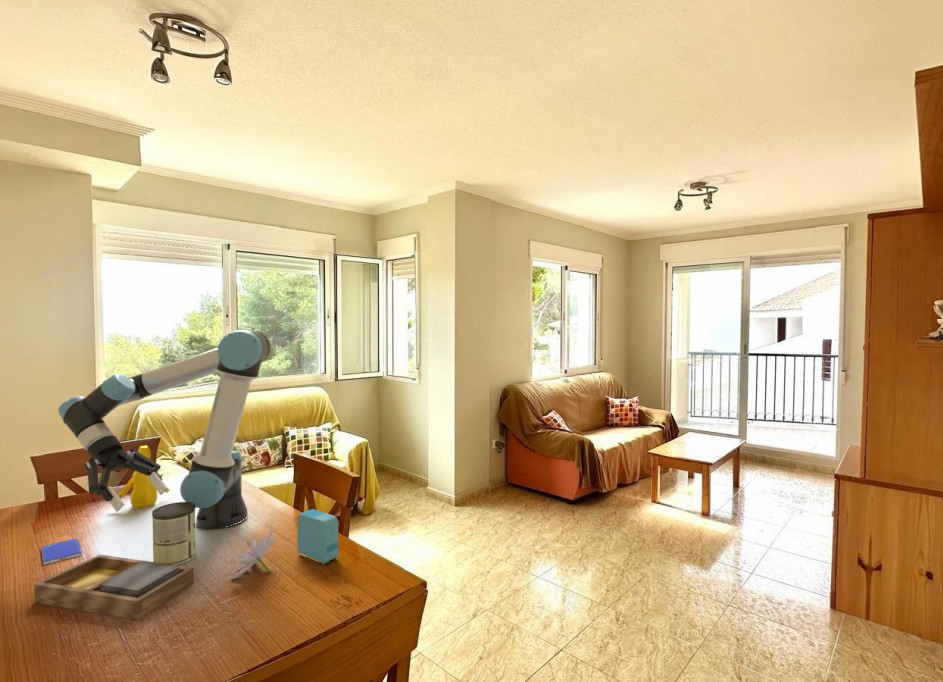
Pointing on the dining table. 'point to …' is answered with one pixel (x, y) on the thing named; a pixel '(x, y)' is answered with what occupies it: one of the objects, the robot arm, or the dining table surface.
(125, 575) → the wooden tray
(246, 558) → the water lily
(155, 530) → the coffee can
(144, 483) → the figure statuette
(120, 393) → the robot arm
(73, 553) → the hard drive
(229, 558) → the dining table surface
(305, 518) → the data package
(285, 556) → the dining table surface
